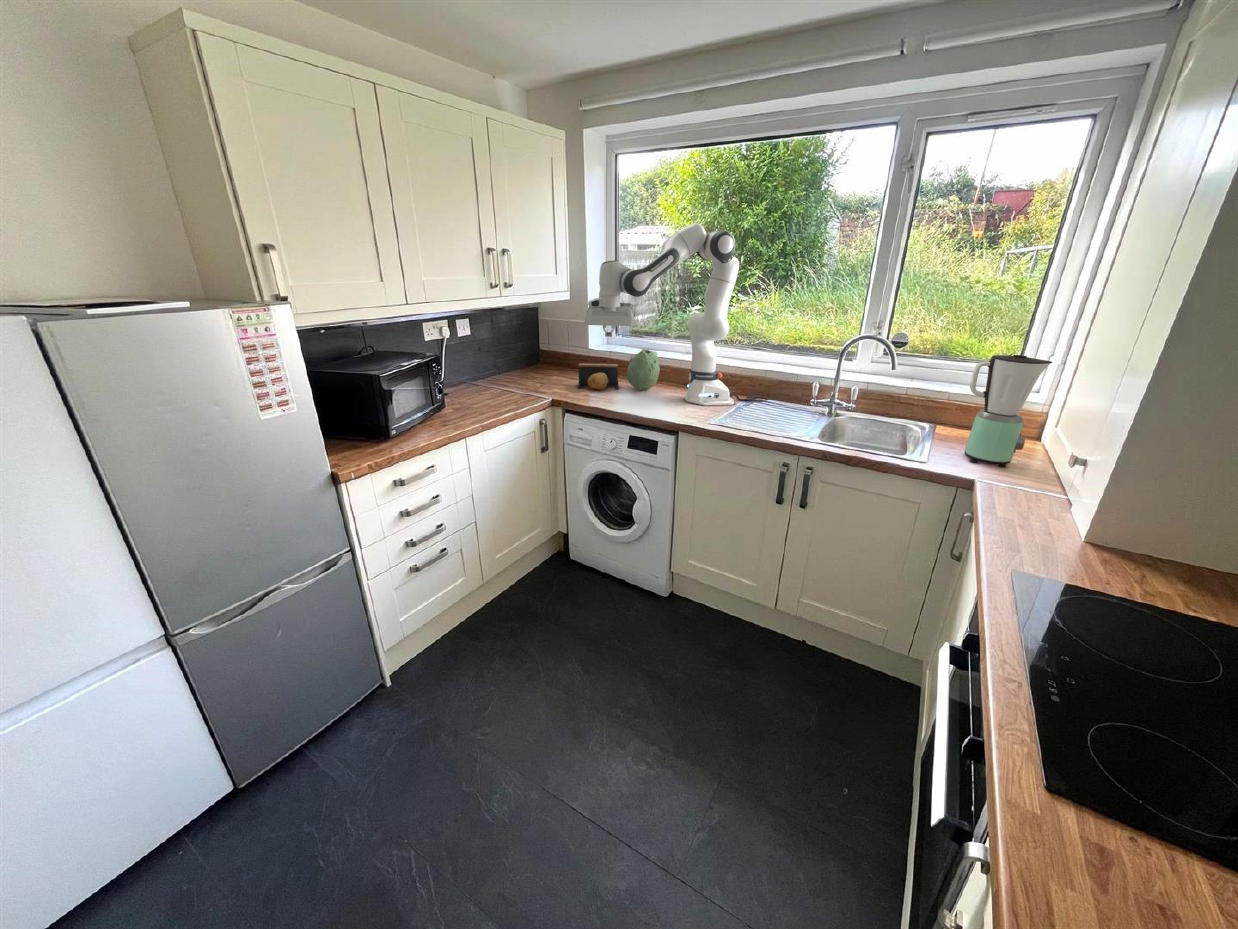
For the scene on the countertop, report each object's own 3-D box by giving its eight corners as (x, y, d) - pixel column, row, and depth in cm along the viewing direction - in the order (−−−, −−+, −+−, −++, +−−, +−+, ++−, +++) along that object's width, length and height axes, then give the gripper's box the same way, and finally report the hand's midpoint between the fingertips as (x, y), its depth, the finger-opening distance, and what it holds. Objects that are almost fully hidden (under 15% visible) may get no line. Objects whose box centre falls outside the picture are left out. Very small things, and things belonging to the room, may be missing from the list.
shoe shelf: (617, 385, 257) (617, 364, 253) (618, 389, 248) (619, 367, 244) (578, 384, 255) (578, 363, 251) (578, 388, 247) (578, 366, 243)
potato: (611, 387, 253) (611, 371, 250) (603, 392, 240) (603, 376, 237) (593, 385, 255) (593, 369, 252) (584, 391, 242) (584, 374, 240)
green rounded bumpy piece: (620, 391, 244) (621, 350, 237) (635, 384, 260) (637, 345, 253) (649, 395, 238) (652, 353, 231) (663, 388, 254) (666, 348, 247)
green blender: (1011, 459, 170) (1046, 355, 157) (1021, 472, 158) (1060, 361, 145) (946, 449, 177) (975, 349, 164) (951, 461, 166) (983, 355, 153)
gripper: (633, 302, 210) (632, 336, 215) (585, 301, 208) (584, 334, 213) (635, 303, 204) (633, 338, 209) (585, 302, 202) (584, 336, 207)
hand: (608, 336), depth 211 cm, fingers closed
